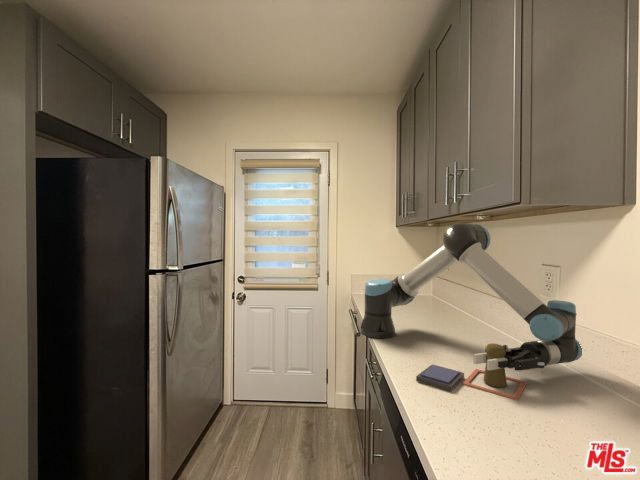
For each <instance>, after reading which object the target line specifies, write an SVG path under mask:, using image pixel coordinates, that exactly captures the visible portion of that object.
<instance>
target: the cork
mask: <svg viewBox="0 0 640 480" xmlns="http://www.w3.org/2000/svg"><path fill="white" fill-rule="evenodd" d="M485 349H486V353H487V355H488V356H487V360H490V359H496V358H503V357H504V356H505V354H506V350H505V348H504V347H503V345H502V344H499V343H488V344H487V345H486V346H485ZM484 371H485V373H483V379H482V380H483V382H484V383H485V384H486V385H490V386H493V387H500V388H503V387H504V388H505V387H507V385H508V383H507V379H506V376H507V375H506V369H505V368H501V369H495V370H487V362H486V363H485V369H484Z"/></svg>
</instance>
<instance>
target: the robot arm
mask: <svg viewBox="0 0 640 480" xmlns="http://www.w3.org/2000/svg"><path fill="white" fill-rule="evenodd" d="M442 241H443V245H442V246H440V247H439V248H437V250H435V251H434V252H433V253H431V254H430V255H429V256H428V257H426V258H425V259H424V260H422V261H421V262H420V263H419V264H417V265H416V266H414V268H412V269H410V271H408V272H407V273H406V274H405V273H401V274H399V275H398V276H396V277H395V278H394V279H392V280H390V279H389V278H374V279H370V280H367V281H366V282H365V284H364V286H365V287H364V315H363V318H362V321H361V324H360V329H359V330H360V331H359V332H360V334H361V335H362V336H364V337H369V338H372V339H373V338H374V339H390V338H393V337H394V336H396V328H395V324H394V321H393V318H392V308H395V307H399V306H406V305H408V304H410V303H411V302H413V300H414V299H415V297H416V296H417V295H418V294H419V290H421V289H422V288H423V287H424V286H425V285H427V284H428V283H430V282H431V281H433V280H434V279H436V278H437V277H439V276H440V275H441V274H443V273H444V272H445V271H447V270H449V269H450V268H451V267H452V266H454V265H455V264H456V263H458V262H459V263H460V264H464V265H466V266H467V267H468V268H469V269H470V270H471V271H472V272H473V273H475V275H476V276H477V277H479V278H480V280H482V281H483V282H484V283H485V284H486V285H487V286H488V287H489V288H490V289H491V290H492V291H493V292H494V293H495V294H496V295H498V296H499V297H500V298H501V299H502V301H504V303H506V304H507V305H508V306H509V307H510V308H511V309H512V310H513V311H515V312H516V314H518V315H519V317H520V318H522V319H523V320H524V321H525V322H526V323H527V324H528V325H529V331H530V332H531V334H532V335H533V336H534V337H535V338H537V340H533V341H525V342H524V343H522V344H521V345H520V346H517V347H512V348H509V346H508V345H506V344H503V345H502V346H503V347H504V348H505V350H506V354H505V356H504V357H503V358H496V359H490V360H487V356H488V355H487V353H486V348H485V349H484V352H479V353H473V364H474V365H478V364H479V365H480V364H486V362H487V370H495V369H501V368H507V369H514V370H515V371H517V372H518V371H520V372H521V371H525V370H533V369H545V367H547V366H552V365H559V364H565V363H566V364H567V363H572V362H575V361H578V360H580V359H581V358H582V356H583V354H582V349H583V347H582V345H581V343H580V342H579V341H578V340H577V339H576V327H577V325H576V324H577V323H576V322H577V316H578V315H577V308H576V304H575V303H574V302H570V301H565V300H554V299H553V300H548V301H547V305H546V304H545V303H544V302H543V301H542V300H541V299H540V298H539V297H537V295H535V294H534V293H533V292H532V291H531V290H529V288H528V287H526V286H525V285H524V284H523V283H522V282H521V281H519V280H518V279H517V278H516V277H515V276H514V275H513V274H511V273H510V271H508V270H507V269H506V268H505V267H504V266H503V265H501V264H500V263H499V262H498V261H497V260H496V259H494V257H492V256H491V254H489V253H488V252H487V250H488V248H489V247H490V245H491V233H490V232H489V231H488V229H487V228H486V227H485V226H484V225H481V224H478V223H469V222H467V223H466V222H455V223H453V224H451V225H449V226H448V227H447V228H446V229H445V231H444V233H443V236H442ZM579 343H580V344H579ZM580 345H581V346H580ZM581 347H582V348H581Z"/></svg>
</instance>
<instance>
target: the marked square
mask: <svg viewBox="0 0 640 480" xmlns="http://www.w3.org/2000/svg"><path fill="white" fill-rule="evenodd" d="M479 373H481V374H484V373H485V370H482V369H478V368H475V369H474V370H473V371H472V372H471V374H470V375H468V377H467V378H466V379H465V380H463V382H462V385H463V386H467V387H470V388H473V389H477V390H481V391H484V392H488V393H490V394H494V395H497V396H501V397H505V398H509V399H512V400H515V401H519V399H520V398H521V396H522V394H523V392H524V389H525V387H526V385H527V383H528V382H527V381H526V380H522V379H518V378H513V377H510V376H507V375H506V381H507V380H509V381H512V382H515V383H519V386H518V387H517V389H516V391H515V393H514V395H512V394H509V393H506V392H502V391H498V390H495V389H491V388H487V387H483V386H480V385H476V384H473V383H471V382H472V381H473V379H474V378H475V377H476V376H477V375H479ZM471 380H472V381H471ZM470 381H471V382H470Z"/></svg>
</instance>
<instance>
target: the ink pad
mask: <svg viewBox="0 0 640 480" xmlns="http://www.w3.org/2000/svg"><path fill="white" fill-rule="evenodd" d="M464 379H465V372H462V371H460V370H457V369H456V370H454V369H451V368H448V367H443V366H440V365H436V364H431V365H429V366H427V367H426V368H425V369H424V370H423V371H421V372H420V373H418V374H417V375H416V377H415V382H418V383H421V384H425V385H426V386H431V387H435V388H437V389H441V390H444V391H447V392H450V393H451V392H452V391H453V390H454V389H455V388H456V387H457V386H458V385H459V384H460V383H461V382H462V381H464Z"/></svg>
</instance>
